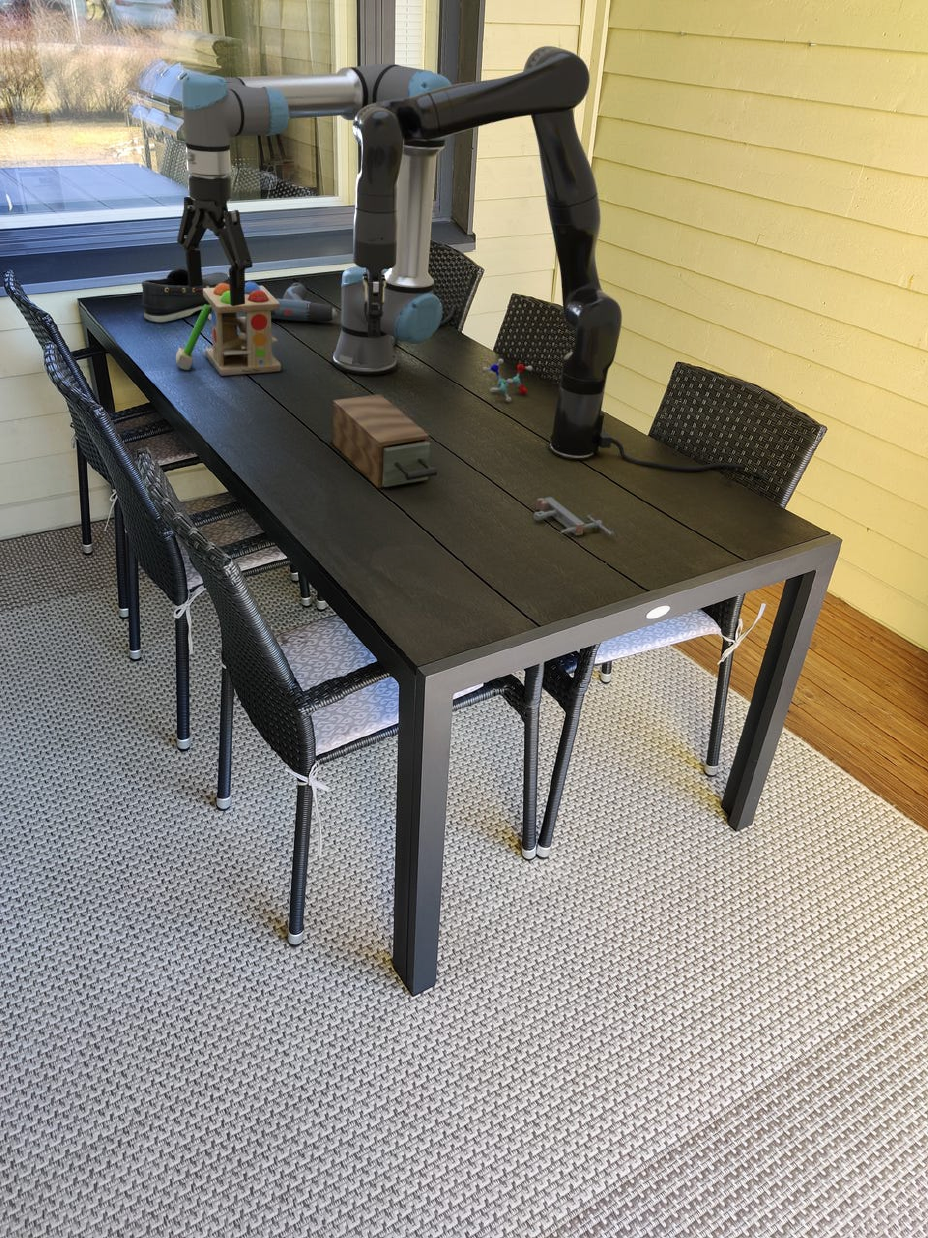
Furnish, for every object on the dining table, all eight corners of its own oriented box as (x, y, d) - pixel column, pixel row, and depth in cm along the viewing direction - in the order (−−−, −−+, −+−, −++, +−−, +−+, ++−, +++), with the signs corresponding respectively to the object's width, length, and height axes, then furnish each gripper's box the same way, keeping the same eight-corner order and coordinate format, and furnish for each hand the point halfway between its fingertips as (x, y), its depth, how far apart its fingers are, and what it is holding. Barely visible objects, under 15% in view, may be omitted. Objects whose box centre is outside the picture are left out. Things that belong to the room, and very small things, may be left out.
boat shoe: (251, 301, 273) (249, 262, 267) (161, 324, 249) (157, 282, 243) (217, 292, 278) (215, 254, 273) (126, 314, 254) (121, 273, 249)
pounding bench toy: (183, 379, 220) (176, 299, 210) (169, 357, 231) (162, 280, 221) (282, 371, 230) (280, 294, 220) (264, 350, 240) (262, 276, 230)
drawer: (443, 493, 184) (446, 456, 179) (399, 501, 179) (401, 464, 175) (382, 438, 202) (383, 403, 197) (341, 444, 197) (341, 409, 193)
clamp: (523, 501, 180) (568, 492, 185) (522, 511, 182) (566, 502, 186) (570, 539, 170) (616, 528, 174) (568, 550, 171) (614, 539, 176)
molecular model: (528, 394, 221) (514, 351, 219) (490, 408, 224) (476, 365, 223) (540, 392, 231) (527, 351, 230) (504, 406, 235) (491, 365, 234)
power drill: (344, 304, 276) (335, 327, 259) (277, 298, 275) (264, 321, 258) (344, 285, 273) (335, 306, 256) (277, 279, 272) (264, 300, 255)
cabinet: (426, 479, 190) (429, 434, 185) (377, 487, 185) (379, 442, 180) (378, 436, 204) (380, 393, 199) (332, 443, 200) (332, 400, 195)
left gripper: (151, 162, 178) (162, 281, 190) (233, 190, 165) (239, 316, 177) (187, 159, 183) (195, 275, 195) (269, 186, 170) (273, 309, 182)
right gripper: (399, 248, 163) (395, 343, 172) (394, 227, 175) (391, 318, 184) (354, 245, 162) (352, 342, 171) (352, 225, 174) (351, 316, 183)
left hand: (216, 295), depth 186 cm, fingers open, 13 cm apart
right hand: (372, 329), depth 178 cm, fingers open, 8 cm apart
